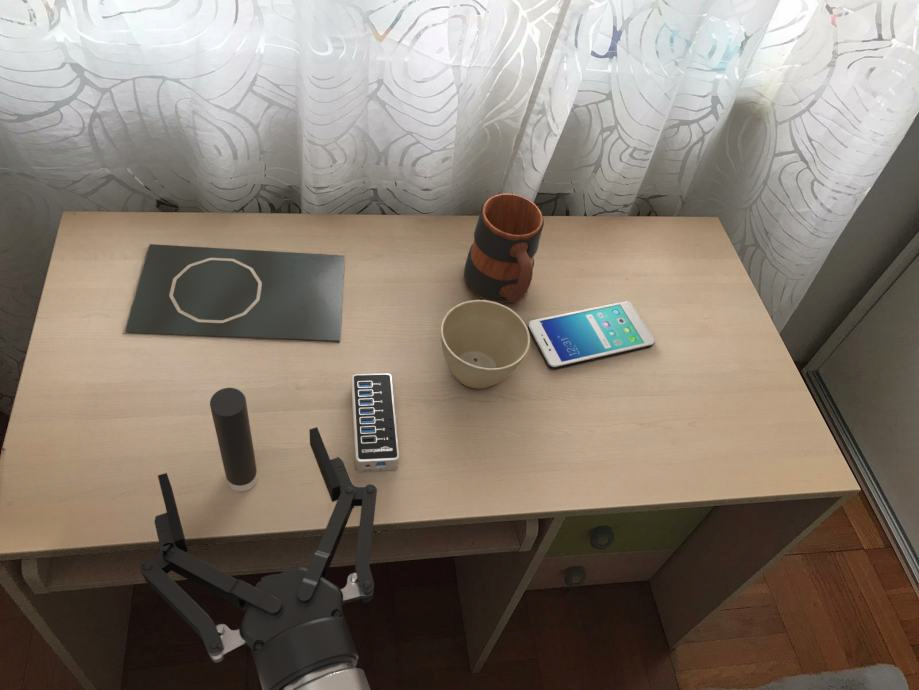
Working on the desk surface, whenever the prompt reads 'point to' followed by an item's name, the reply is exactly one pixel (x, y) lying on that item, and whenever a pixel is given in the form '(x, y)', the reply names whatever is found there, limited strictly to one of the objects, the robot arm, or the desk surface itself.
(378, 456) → the multiport hub
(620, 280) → the desk surface
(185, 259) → the board
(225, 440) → the cylinder
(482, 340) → the flower pot
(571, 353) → the smartphone
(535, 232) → the mug
